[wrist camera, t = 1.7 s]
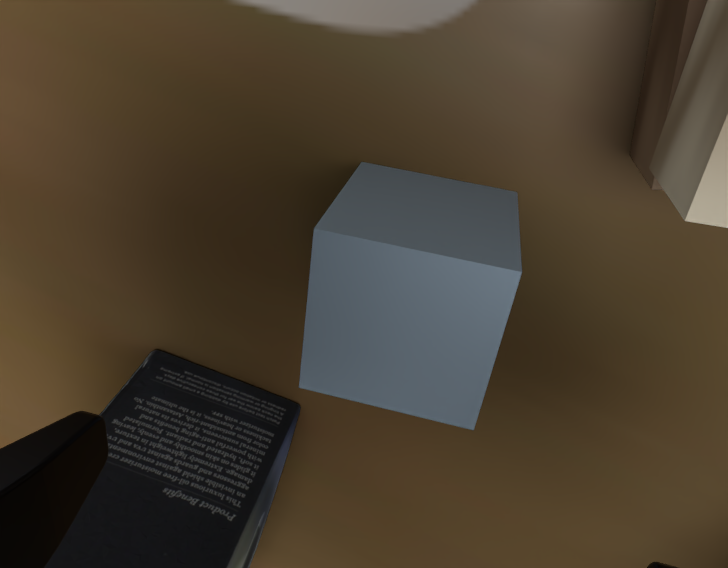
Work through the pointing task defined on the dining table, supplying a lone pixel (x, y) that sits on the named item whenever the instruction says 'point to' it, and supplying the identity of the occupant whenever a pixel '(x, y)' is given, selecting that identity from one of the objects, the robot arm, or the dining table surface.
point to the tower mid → (699, 127)
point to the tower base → (662, 75)
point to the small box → (182, 472)
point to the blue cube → (411, 293)
